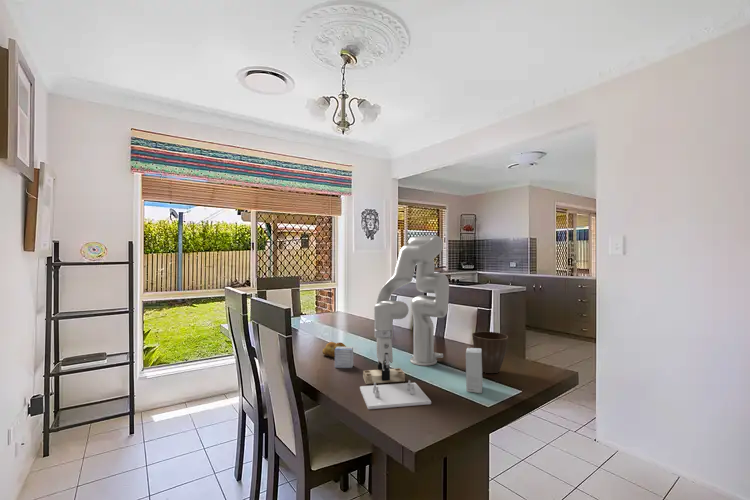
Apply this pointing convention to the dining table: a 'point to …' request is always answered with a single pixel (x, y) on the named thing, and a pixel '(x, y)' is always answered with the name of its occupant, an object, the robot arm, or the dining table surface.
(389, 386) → the chassis plate
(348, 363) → the medicine box
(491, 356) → the plant pot
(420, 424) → the dining table surface
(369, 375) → the birch board
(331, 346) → the bread roll
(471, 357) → the skincare box
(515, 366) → the dining table surface
